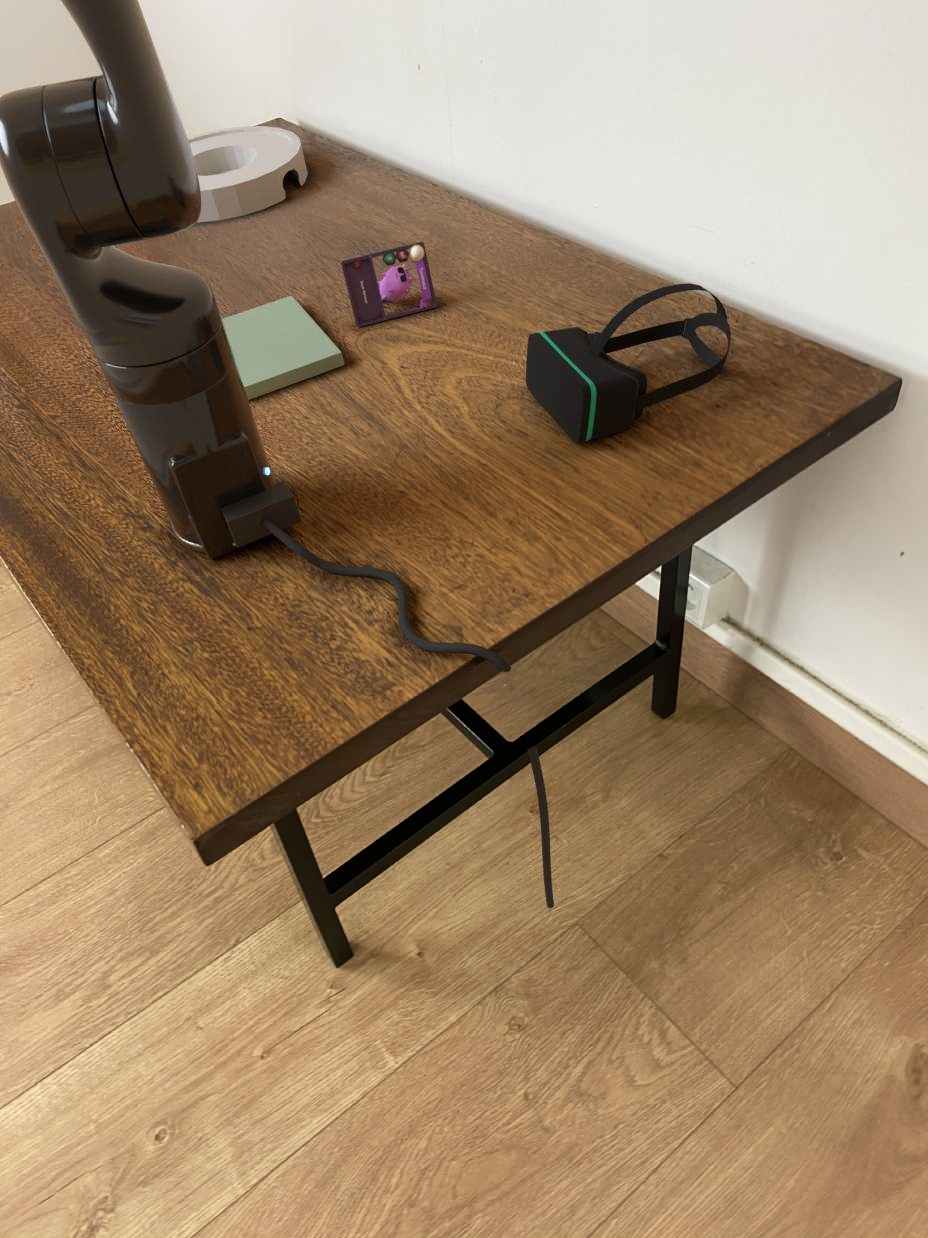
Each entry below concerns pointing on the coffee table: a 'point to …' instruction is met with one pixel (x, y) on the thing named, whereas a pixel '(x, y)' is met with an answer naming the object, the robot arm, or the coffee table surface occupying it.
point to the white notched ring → (244, 169)
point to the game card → (386, 283)
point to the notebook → (279, 346)
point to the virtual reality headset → (611, 369)
